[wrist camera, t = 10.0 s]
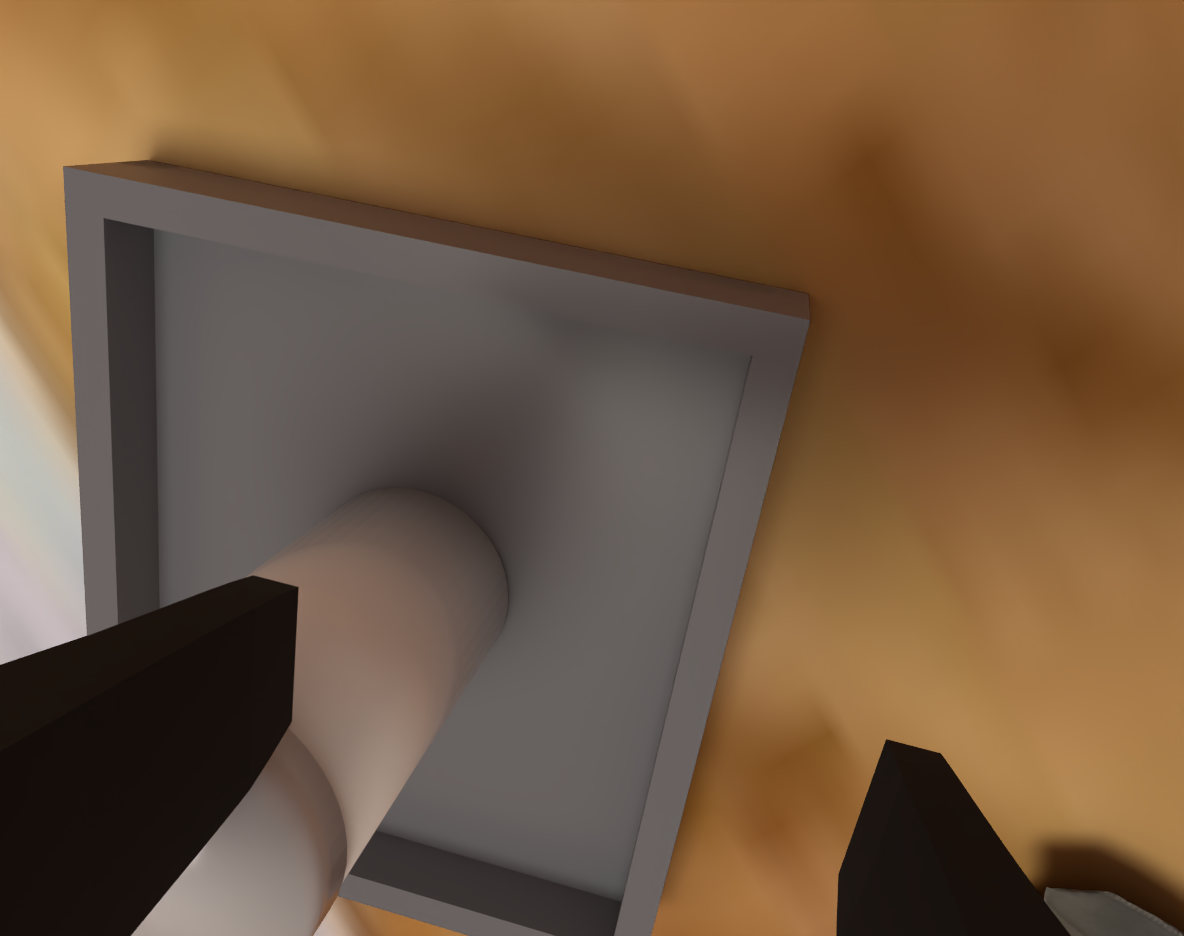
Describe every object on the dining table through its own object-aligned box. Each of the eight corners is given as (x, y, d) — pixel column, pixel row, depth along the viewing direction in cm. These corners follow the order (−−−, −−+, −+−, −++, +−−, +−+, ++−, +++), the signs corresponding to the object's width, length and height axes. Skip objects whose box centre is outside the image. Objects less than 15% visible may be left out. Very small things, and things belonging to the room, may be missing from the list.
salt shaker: (524, 513, 20) (317, 776, 11) (495, 702, 21) (293, 1060, 13) (318, 464, 20) (-28, 676, 12) (304, 650, 22) (-10, 958, 13)
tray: (808, 293, 18) (809, 320, 16) (652, 903, 24) (637, 986, 22) (148, 160, 20) (63, 166, 17) (158, 759, 26) (96, 823, 24)
